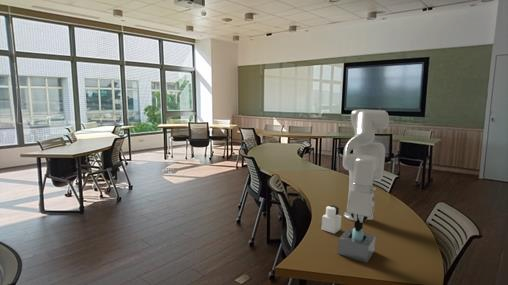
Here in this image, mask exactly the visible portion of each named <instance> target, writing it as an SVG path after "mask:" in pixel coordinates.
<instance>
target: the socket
mask: <svg viewBox="0 0 508 285" xmlns="http://www.w3.org/2000/svg"><path fill="white" fill-rule="evenodd" d="M352 232H353V229H352V228H351V229H350V228H347V229H346V230H345V231H344V232H343V233H342V234H341V235H340V236H339V237H338V244H337V254H338V255H341V256H343V257H346V258H350V259H353V260H356V261H358V262H359V261H360V262H363V263H365V264H367V263H368V262H369V260H370V259H371V257H372V256H373V254H374V252H375V246H376V237H377V236H376V235H373V234H369V233H366V232H364V234H363V242H362V241H359V240H355V239H352Z"/></svg>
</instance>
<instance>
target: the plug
mask: <svg viewBox="0 0 508 285" xmlns="http://www.w3.org/2000/svg"><path fill="white" fill-rule="evenodd" d="M352 230H353V232H352V239H355V240H359V241H362V242H363V234H364V233H365V230H363V228H362V229H361V230H360V231H355V227H353V228H352Z"/></svg>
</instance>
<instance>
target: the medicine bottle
mask: <svg viewBox="0 0 508 285" xmlns="http://www.w3.org/2000/svg"><path fill="white" fill-rule="evenodd" d="M339 210H340V208H339V207H338V206H336V205H334V204H333V205H332V204H330V205H327V206H326V207H325V214H323V215H322V216H321V226H320V227H321V230H322V231H325V232H328V233H331V234H336V233H337V232H339V231H340V230H341V228H342V226H341V225H342V215H339Z"/></svg>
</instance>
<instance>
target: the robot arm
mask: <svg viewBox="0 0 508 285" xmlns="http://www.w3.org/2000/svg"><path fill="white" fill-rule="evenodd" d="M350 121H351V122H350V123H351V124H352V128H353V132H354V135H353V136H352V138H350V139H349V140H348V141H347V143H346V144H345V146H344V148H343V154H342V167H343V169H344V170H346V171H348V176H349V180H348V181H349V184H348V194H347V195H348V196H347V204H346V211H345V212H344V213H343V217H344V218H346V219H347V220H350V221H354V227H353V228H355V231H360V230H361V229H362V230H363V227H364V226H363V225H364V222H366V221H367V220H368V221H369V220H370V221H372V220H373V219H374V211H375V195H374V194H375V192H374V191H376V189H377V187H375V186H373V181H381V180H383V176H384V170H385V169H384V168H385V159H386V146H385V145H384V144H383V143H381V142H374V140H375V138H376V136H375V134H376V133H375V132H376V130H375V129H377V130H379V129H380V130H386V129H387V128H388V127H389V124H390V116H389V114H388V112H387V111H386V110H383V109H382V110H380V109H366V108H365V109H363V108H361V109H354V110H352V111H351V113H350ZM352 151H353V152H352ZM351 152H352V153H351Z"/></svg>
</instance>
